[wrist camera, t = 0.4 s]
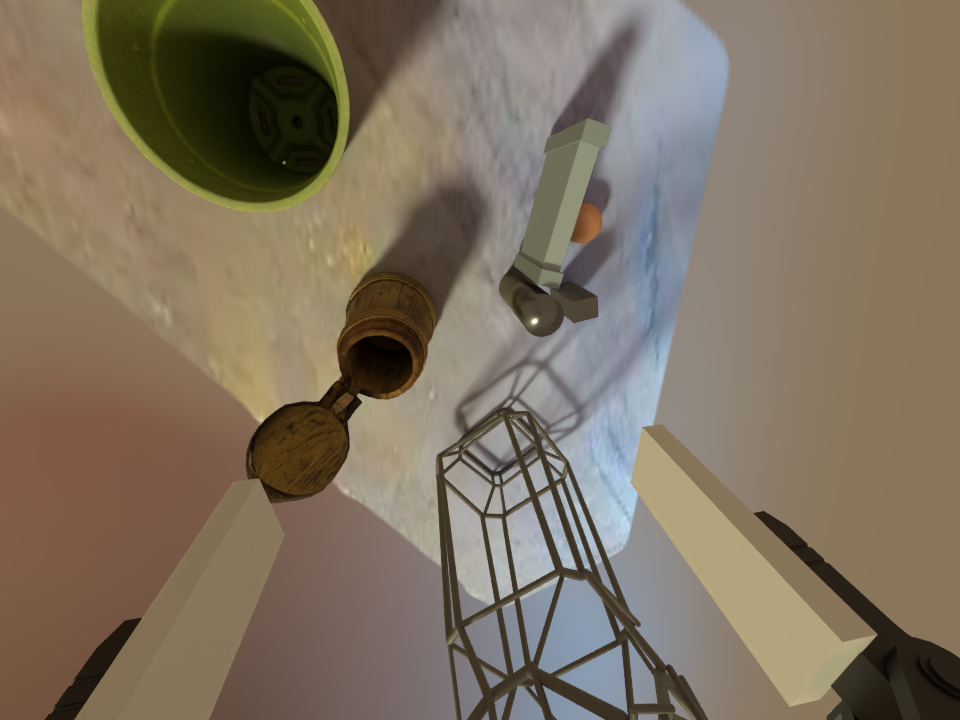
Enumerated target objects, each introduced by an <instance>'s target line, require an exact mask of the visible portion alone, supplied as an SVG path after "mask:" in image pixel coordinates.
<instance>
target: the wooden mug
mask: <svg viewBox="0 0 960 720" xmlns="http://www.w3.org/2000/svg"><path fill="white" fill-rule="evenodd" d="M436 322H437V312H436V309H435V305H434V302H433V300H432V299H431V297H430V295H429V293H428V292H427V291H426V290H425V289H424V288H423V286H422V285H421V284H420V283H418V282H416V281H415V280H413V279H412V278H410V277H408V276H405V275H402V274H399V273H389V272H384V273H379V274H373V275H372V276H370V277H368V278H367V279H365V280H363V282H362V283H361V284H360V285H359V286H358V287H357V288H356V289H355V290H354V292H353V293H352V295H351V296H350V299H349V302H348V305H347V308H346V311H345V327H344V328H343V329H342V332H341V334H340V337H339V339H338V342H337V354H338V362H339V367H340V371H341V373H342V376H341V377H340V379H339V380H338V381H336V382H335V383H334V384H333V385H332V386H331V387H330V389H329V390H328V391H327V392H326V394H325V395H324V396H323V397H322V399H321V400H320V401H318V402H306V401H302V402H297V403H292V404H286V405H284V406H283V407H281V408H280V409H278V410H276V411H275V412H274V413H272V414H271V415H270V416H269V417H268V418H266V419H265V420H264V421H263V423H262V424H261V425H260V426H259V427H258V429H257V430H256V432H255V433H254V435H253V436H252V438H251V441H250V443H249V446H248V449H247V453H246V471H247V477H248V480H250V479H258V478H259V480H260V482H261V484H262V486H263V489H264V491H265V493H266V495H267V497H268V500H269V502H270V503H281V502H288V501H295V500H300V499H303V498H308V497H311V496H313V495H315V494H317V493H319V492H321V491H323V490H324V488H325V487H326V486H327V485H328V484H329V483H330V482H331V481H332V480H333V479H334V478H335V476H336V474H337V473H338V471H339V470H340V468H341V467H342V465H343V463H344V462H345V460H346V458H347V455H348V451H349V448H350V443H349V431H348V423H347V421H348V420H349V419H350V417H351V416H352V414H353V413H354V411H355V410H356V409H357V408H358V407H359V406H360V404H361V403H362V401H361V400H360V399H359V398H358V397H357V394H358V393H360V394H362V395H365V396H368V397H372V398H376V399H387V400H388V399H391V398H395V397H398V396H399V395H401V394H403V393H404V392H406V391H407V390H408V389H409V388H411V387H412V386H413V384H414V383H415V382H416V381H417V379H418V378H419V376H420V375H421V373H422V372H423V370H424V366H425V363H426V358H427V352H428V344H429V342H430V340H431V339H432V336H433V332H434V329H435V327H436Z"/></svg>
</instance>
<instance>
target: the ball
mask: <svg viewBox="0 0 960 720" xmlns="http://www.w3.org/2000/svg"><path fill="white" fill-rule="evenodd" d="M601 225H602V216H601V213H600V211H599V210H598V209H597V208H596V207H595V206H594V205H592V204H589V203H582V205H581V208H580V211H579V214H578V217H577V220H576V223H575V226H574V230H573V233H572V236H571V239H570V240H571V241H573V242H576V243H585V242H588V241H590V240H592V239H593V238H595V237H596V235H597V234H598V233H599V231H600V229H601Z"/></svg>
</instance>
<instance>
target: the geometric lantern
mask: <svg viewBox="0 0 960 720" xmlns="http://www.w3.org/2000/svg"><path fill="white" fill-rule="evenodd" d="M500 413H502V414H500ZM496 416H497V417H496ZM511 416H512V417H511ZM523 416H527V419H528V422H529V425H530V428H531V431H532V432H531V431H530V430H529V429H528V428H527V427H526V426H525V425H524V424H523V423H522V422H521V421H520V420H519V419H518V418H520V417H523ZM494 417H496V418H494ZM493 418H494V419H493ZM514 419H515V420H516V421H517V422H518V423H519V424H520V425H521V426H522V427H523V428H524V429H525V430H526V431H527V432H528V433H530V434H531V435H532V436H533V437H534V440H535V442H534V441H533V440H532V439H531V438H530V437H529V436H528V435H527V434H526V433H525V432H524V431H523V430H522V429H521V428H520V427H519V426H518V425H517V424H516V423H515V422H513V421H512V420H514ZM490 420H491V421H490ZM503 421H504V422H505V425H506V427H507V430H508V433H509V436H510V439H511V441H512V444H513V447H514V450H515V453H516V456H517V459H518V460H517V461H516V462H514V463H513V464H512V465H510V466H509V467H508V468H506V469H505V470H504V471H502V472H501V473H496V474H491V473H490V472H489V471H488V470H486V469H485V468H484V467H483V466H482V465H480V464H479V463H478V462H477V461H475V460H474V459H473V458H472V457H471V456H469V455H468V454H467V453H466V452H464V451H465V450H466V449H468V448H469V447H470V446H471V445H473V444H474V443H475V442H477V441H478V440H479V439H481V438H482V437H483V436H484V435H486V434H487V433H488V432H490V431H491V430H492V429H494V428H495V427H496V426H498V425H499V424H500V423H501V422H503ZM511 424H512V425H513V426H514V427H515V428H516V429H517V430H518V431H519V432H521V433H522V434H523V435H524V436H525V437H526V438H527V439H528V440H529V441H530V442H531V443H532V444H533V445H534V446H535V448H533V449H532V450H530V451H529V452H528V453H526V454H525V455H524V456H522V453H521V450H520V447H519V445H518V442H517V439H516V437H515V434H514V431H513V428H512V426H511ZM489 427H490V428H489ZM487 428H489V429H487ZM536 428H537V430H538V431H539V432H540V434H541V435H542V436H543V437H544V439H545V440H546V441H547V442H548V444H549V445H550V446H551V447H552V449H553V450H554V451H555V452H556V454H557V455H558V456H559V457H558V456H556V455H553V454H551V453H549V452H546V451H544V450H543V447H542V444H541V441H540V438H539V435H538V432H537V430H536ZM486 429H487V430H486ZM484 430H486V431H485V432H483V431H484ZM481 432H483V433H482V434H481V435H479V436H478V437H477V438H476V439H474V440H473V441H472V442H470V443H469V444H468V445H466V446H465V447H464V448H463V449H462V446H461V445H462V444H464V443H465V442H467V441H469V440H470V439H472V438H473V437H475V436H476V435H478V434H480V433H481ZM458 447H459V451H455V452H451V451H453V450H454V449H456V448H458ZM535 450H537V453H538V457H537V458H535V459H534V460H533V461H531V462H530V463H529V464H527V465H526V464H525V461H524V458H526V457H527V456H528V455H530V454H531V453H533V452H534V451H535ZM456 454H459V455H458V458H457V459H456V460H455V461H454V462H453V463H452V464H450V465H449V466H448V467H447V468H446V469H445V470H444V469H443V461H442V457H447V456H451V455H456ZM462 454H463V455H465V456H466V457H467V458H468V459H470V460H471V461H472V462H473V463H475V464H476V465H477V466H478V467H480V468H481V469H482V470H483V471H484V472H486V473H487V474H488V475H489V476H491V479H492V482H491V481H490V480H489V479H488V478H486V477H485V476H484V475H483V474H481V473H480V472H479V471H477V470H476V469H475V468H474V467H472V466H471V465H470V464H469V463H467V462H466V461H465V460H464V459H462ZM545 454H546V455H548V456H550V457H553V458H555V459H557V460H560V461H562V462H563V463H564V464H565V466H564V470H563V473H562V474H561V473H560V472H559V471H558V470H557V469H556V468H555V467H554V466H553V465H552V464H551V463H550V462H549V461H548V460H547V458H546V455H545ZM540 458H541V461H542V464H543V467H544V471H545V474H546V477H547V480H548V483H549V485H548V486H547V487H545V488H543V489H542V490H540V491H538V492H537V493H536V491H535V489H534V486H533V483H532V480H531V478H530V475H529V472H528V469H527V468H528V467H530V466H531V465H532V464H534V463H535V462H536V461H538V460H539V459H540ZM459 460H460V461H461V462H462V463H464V464H465V465H466V466H468V467H469V468H470V469H471V470H473V471H474V472H475V473H476V474H478V475H479V476H480V477H482V478H483V479H484V480H485V481H487V482H488V483H489V484H491V485H492V489H491V492H490V495H489V498H488V501H487V504H486V507H485V510H484V513H482V512H481V511H480V510H479V509H478V508H477V507H476V506H475V505H474V504H473V503H471V502H470V501H469V500H468V499H467V498H466V497H465V496H464V495H463V494H462V493H461V492H460V491H458V490H457V489H456V488H455V487H454V486H453V485H452V484H451V483H450V482H449V481H448V480H447V479H445V477H444V474H445V473H446V472H447V471H448V470H450V469H451V468H452V467H453V466H454V465H455V464H456V463H457V462H458V461H459ZM518 463H519V465H520V468H521V470H519V471H518V472H517V473H515V474H514V475H513V476H512V477H510V478H509V479H508V480H506V481H505V482H504V483H503V479H502V475H503V474H504V473H506V472H507V471H508V470H510V469H511V468H512V467H514V466H515V465H516V464H518ZM549 466H550V467H551V468H552V469H553V470H554V471H555V472H556V473H557V474H558V475H559V476H560V477H561V478H560V479H558V480H556V481H554V478H553V476H552V473H551V470H550V467H549ZM567 472H568V474H569V476H570V479H571V482H572V484H573V487H574V489H575V492H576V495H577V497H578V500H579V502H580V505H581V507H582V510H583V512H584V515H585V518H586V520H587V523H588V525H589V528H590V530H591V533H592V535H593V538H594V541H595V543H596V546H597V548H598V551H599V553H600V556H601V558H602V561H603V563H604V566H605V569H606V571H607V574H608V576H609V579H610V581H611V584H612V587H613V589H614V591H615V594H616V597H617V598H616V597H615V596H614V595H613V594H612V593H611V592H610V591H609V590H608V589H607V588H606V587H605V586H604V585H603V583H602V580H601V578H600V575H599V572H598V570H597V567H596V564H595V561H594V558H593V556H592V553H591V550H590V548H589V545H588V542H587V539H586V537H585V534H584V531H583V528H582V526H581V523H580V520H579V518H578V515H577V512H576V509H575V507H574V504H573V501H572V498H571V496H570V493H569V490H568V488H567V485H566V482H565V478H566V475H567ZM520 473H522V474H523V477H524V479H525V482H526V485H527V488H528V491H529V494H530V497H529V498H527V499H525V500H524V501H522V502H521V503H519V504H517V505H516V506H514V507H512V508H511V509H509V510H507V511H506V508H505V502H504V495H503V489H502V487H503V486H505V485H506V484H507V483H509V482H510V481H511V480H513V479H514V478H515V477H517V476H518V475H519V474H520ZM495 476H499V479H500V483H501V484H495V481H494V477H495ZM436 479H437V495H438V512H439V530H440V547H441V564H442V580H443V598H444V616H445V632H446V643H447V644H448V652H449V660H450V668H451V676H452V683H453V691H454V700H455V708H456V717H457V720H462V719H461V712H460V705H459V696H458V689H457V681H456V673H455V665H454V658H453V650H454V651H455V652H457V653H459V654H461V655H462V656H464V657H466V658H467V659H469V661H470V664H471V666H472V669H473V671H474V674H475V676H476V679H477V681H478V683H479V686H480V689H481V691H482V694H483V698H482V699H481V700H480V702H479V703H478V705H477V706H476V708H475V709H474V710H473V712H472V713H471V715H470V716H469V718H468V719H467V720H482V718H483V717H484V715H485V714H486V712H487V711H488V713H489V720H497V716H496V710H495V703H494V702H495V701H497V700H498V699H500V698H501V697H503V696H504V695H505V694H507V693H508V692H509V695H508V698H507V702H506V705H505V709H504V713H503V716H502V720H509V716H510V713H511V709H512V705H513V701H514V697H515V693H516V689H517V686H523V687H524V688H525V689H526V690H527V692H528V693H529V694H530V695H531V696H532V697H533V698H534V700H535V701H536V702H537V703H538V705H539V706H540V707H541V708H542V711H543V714H544V718H545V720H557V719H556V718H555V717H554V716H553V715H552V713H551V710H550V707H549V704H548V701H547V698H546V695H545V692H544V689H543V686H545V687H547V688H549V689H551V690H552V691H554V692H556V693H558V694H559V695H561V696H563V697H565V698H567V699H569V700H570V701H572V702H574V703H576V704H578V705H580V706H581V707H583V708H585V709H587V710H589V711H591V712H592V713H594V714H596V715H598V716H600V717H602V718H603V719H605V720H638V714H658V717H659V718H658V720H686V719H684V718H682V717H680V716H678V715H676V714H675V707H674V706H673V705H672V704H671V702H670V699H669V694H668V690H669V691H670V692H671V694H672V695H673V696H674V697H675V699H676V700H677V701H678V702H679V704H680V705H681V706H682V707H683V708H684V709H685V711H686V712H687V713H688V714H689V716H690V717H691V718H692V719H693V720H708V718H707V716H706V715H705V713H704V711H703V709H702V708H701V706H700V704H699V702H698V701H697V699H696V697H695V695H694V693H693V692H692V690H691V688H690V686H689V684H688V683H687V681H686V679H685V678H684V676H682V675H680V676H679V677H678V675H677V673H676V672H675V670H674V669H673V667H672V666H671V665H669V664H668V665H667V666H665V664H664V663H663V661H662V660H661V659H660V658H659V657H658V655H657V654H656V653H655V652H654V651H653V649H652V648H651V647H650V645H649V644H648V643H647V642H646V641H645V639H643V637H642V636H641V635H640V633H639V632H638V631H637V630H636V628H635V625H636V626H637V627H640V626H641V624H640V622H639V621H638V620H637V619H636V618H635V617H634V616H633V615H632V614H631V612H630V611H629V609H628V606H627V604H626V601H625V599H624V597H623V594H622V591H621V589H620V586H619V584H618V582H617V579H616V577H615V575H614V572H613V569H612V567H611V564H610V562H609V560H608V557H607V555H606V552H605V550H604V547H603V545H602V542H601V540H600V538H599V535H598V533H597V530H596V528H595V525H594V523H593V520H592V518H591V516H590V513H589V511H588V508H587V506H586V503H585V501H584V498H583V496H582V494H581V491H580V489H579V486H578V484H577V481H576V479H575V476H574V474H573V471H572V469H571V466H570V463H569V461H568V460H567V459H566V458H565V457H564V455H563V454H562V453H561V452H560V450H559V449H558V448H557V446H556V445H555V444H554V443H553V441H552V440H551V439H550V437H549V436H548V435H547V434H546V432H545V431H544V430H543V428H542V427H541V426H540V425H539V423H538V422H537V421H536V419H535V418H534V417H533V416H532V414H531V413H530V412H528V411H514V412H511V411H510V410H509V409H505V410H500V411H497V412H496V413H495V414H493V415H492V416H491V417H489V418H488V419H487V420H486V421H484V422H483V423H482V424H481V425H479V426H478V427H477V428H475V429H474V430H473V431H472V432H470V433H469V434H468V435H466V436H465V437H464V438H463V439H461V440H460V441H458V442H456V443H455V444H453V445H452V446H450V447H449V448H447V449H446V450H444V451H442V452H441V453H439V454H438V455H437V458H436ZM559 484H562V487H563V490H564V492H565V495H566V498H567V501H568V504H569V507H570V510H571V512H572V515H573V518H574V521H575V524H576V527H577V530H578V532H579V535H580V538H581V541H582V544H583V547H584V550H585V553H586V555H587V558H588V561H589V564H590V567H591V570H592V572H591V571H588V570H587V569H585V568H584V565H583V562H582V559H581V556H580V554H579V551H578V548H577V545H576V542H575V539H574V536H573V533H572V530H571V527H570V525H569V522H568V519H567V516H566V513H565V510H564V507H563V504H562V501H561V499H560V496H559V493H558V490H557V487H556V486H557V485H559ZM445 485H446V486H447V487H448V488H449V489H451V490H452V491H453V492H454V493H455V494H456V495H457V496H458V497H459V498H460V499H462V500H463V501H464V502H465V503H466V504H467V505H468V506H469V507H470V508H471V509H473V510H474V511H475V512H476V513H477V514H478V515H479V516H480V518H481V524H482V530H483V536H484V542H485V548H486V554H487V560H488V565H489V571H490V577H491V583H492V588H493V594H494V600H495V603H494V604H492V605H490V606H489V607H487V608H485V609H483V610H481V611H480V612H478V613H476V614H474V615H472V616H470V617H469V618H467V619H465V620H463V621H462V616H461V608H460V600H459V591H458V583H457V574H456V566H455V558H454V550H453V542H452V534H451V526H450V518H449V510H448V502H447V494H446V486H445ZM495 487H500V494H501V501H502V507H503V514H486V513H487V510H488V507H489V504H490V501H491V498H492V495H493V492H494V489H495ZM549 490H551V492H552V495H553V498H554V501H555V504H556V507H557V511H558V514H559V517H560V520H561V523H562V526H563V529H564V532H565V535H566V538H567V541H568V544H569V547H570V550H571V553H572V555H573V558H574V561H575V564H576V567H577V570H578V571H577V570H572V569H568V568H564V567H563V566H562V563H561V560H560V557H559V554H558V552H557V549H556V546H555V543H554V541H553V538H552V535H551V532H550V530H549V527H548V524H547V521H546V519H545V516H544V513H543V510H542V508H541V505H540V502H539V499H538V497H539V496H541V495H543V494H544V493H546V492H547V491H549ZM531 501H532V503H533V506H534V509H535V512H536V514H537V517H538V520H539V523H540V526H541V529H542V532H543V535H544V538H545V541H546V544H547V547H548V550H549V553H550V556H551V559H552V562H553V565H554V567H555V570H554V571H552V572H550V573H548V574H547V575H545V576H543V577H541V578H539V579H537V580H536V581H534V582H532V583H530V584H528V585H527V586H525V587H523V588H521V589H519V590H518V587H517V581H516V575H515V569H514V564H513V558H512V552H511V547H510V541H509V535H508V529H507V523H506V516H508V515H510V514H511V513H513V512H515V511H516V510H518V509H520V508H521V507H523V506H524V505H526V504H528V503H529V502H531ZM485 518H497V519H502V524H503V531H504V538H505V544H506V550H507V556H508V563H509V569H510V575H511V581H512V587H513V593H512V594H510V595H509V596H507V597H505V598H503V599H501V600H500V597H499V592H498V586H497V581H496V576H495V570H494V565H493V560H492V554H491V549H490V544H489V539H488V533H487V528H486V523H485ZM446 545H447V548H446ZM447 554H448V561H447ZM448 564H449V573H450V582H451V592H452V602H453V611H454V621H455V627H454V628H453V627H452V614H451V600H450V589H449V588H450V587H449V576H448V575H449V574H448ZM557 576H560V577H559V580H558V583H557V586H556V590H555V593H554V596H553V599H552V603H551V606H550V609H549V612H548V615H547V619H546V622H545V625H544V628H543V632H542V635H541V638H540V641H539V644H538V648H537V651H536V654H535V657H534V661H531V660H530V655H529V649H528V643H527V638H526V632H525V627H524V621H523V615H522V610H521V604H520V598H519V597H521V596H522V595H524V594H526V593H528V592H530V591H532V590H533V589H535V588H537V587H539V586H541V585H543V584H544V583H546V582H548V581H550V580H552V579H554V578H555V577H557ZM564 577H566V578H571V579H575V580H581V581H582V580H585V579H586V580H587V581H588V582H589V584H590V585H591V586H592V587H593V589H594V590H595V591H596V592H597V594H598V595H599V596H600V597H601V598H602V601H603V604H604V607H605V610H606V612H607V615H608V618H609V621H610V624H611V627H612V629H613V632H614V635H615V638H616V640H615V641H613V642H611V643H609V644H607V645H605V646H603V647H601V648H599V649H597V650H595V651H594V652H592V653H590V654H588V655H586V656H584V657H582V658H580V659H578V660H576V661H574V662H572V663H570V664H568V665H566V666H565V667H563V668H561V669H559V670H557V671H555V672H553V673H551V674H549V673H547V672H545V671H543V670H541V669H539V668H538V664H539V661H540V658H541V654H542V651H543V647H544V644H545V641H546V638H547V634H548V631H549V627H550V624H551V621H552V617H553V614H554V611H555V607H556V604H557V601H558V597H559V594H560V591H561V587H562V584H563V581H564ZM513 600H515V605H516V612H517V618H518V625H519V630H520V637H521V643H522V649H523V655H524V662H525V666H523V667H522V668H520V669H519V670H518V671H516V672H515V673H513V668H512V662H511V657H510V651H509V645H508V640H507V634H506V629H505V623H504V618H503V613H502V606H504V605H506V604H508V603H510V602H512V601H513ZM495 610H496V611H497V617H498V623H499V629H500V634H501V639H502V646H503V652H504V657H505V663H506V668H507V674H508V675H506V674H504V673H502V672H501V671H499V670H498V669H496V668H494V667H492V666H491V665H489V664H488V663H486V662H484V661H483V660H481V659H479V658H478V657H477V656H476V654H475V652H474V650H473V647H472V645H471V642H470V640H469V638H468V635H467V633H466V631H465V628H464V627H466V626H468V625H469V624H471V623H473V622H475V621H477V620H478V619H480V618H482V617H484V616H486V615H488V614H489V613H491V612H493V611H495ZM614 615H615V616H616V617H617V619H618V620H619V621H620V622H621V624H622V625H623V626H624V627H625V628H624V629H623V630H622V631H621V632H620V630H619V627H618V625H617V622H616V619H615V616H614ZM458 636H460V639H461V641H462V644H463V646H464V649H463V648H461V647H459V646H458V645H456V644H455V643H454V641H455V640H456V638H457V637H458ZM628 639H629V640H630V641H631V643H632V645H633V646H634V647H635V649H636V650H637V652H638V653H639V655H640V656H641V658H642V659H643V661H644V662H645V664H646V665H647V667H648V668H649V670H650V671H651V673H652V674H653V675H654V679H655V687H656V694H657V702H658V704H634V699H633V688H632V678H631V667H630V658H629V647H628ZM635 641H636V642H637V643H636V642H635ZM621 644H622V655H623V666H624V677H625V688H626V699H627V711H628V715H627V714H626V713H625V712H624V711H623V710H621V709H619V708H617V707H615V706H613V705H611V704H609V703H607V702H605V701H603V700H601V699H599V698H597V697H595V696H593V695H591V694H589V693H587V692H585V691H583V690H581V689H579V688H577V687H575V686H573V685H571V684H569V683H567V682H565V681H563V680H561V679H559V678H557V677H559V676H560V675H563V674H564V673H567V672H569V671H571V670H572V669H574V668H576V667H578V666H580V665H582V664H584V663H586V662H588V661H590V660H592V659H594V658H596V657H598V656H600V655H601V654H604V653H606V652H607V651H609V650H611V649H613V648H615V647H617V646H619V645H621ZM637 644H638V645H639V646H640V647H641V649H642V650H643V651H644V652H645V654H646V655H647V656H648V657H649V659H650V660H651V661H652V662H653V664H654V665H655V666H656V668H653V666H652V665H651V663H650V662H649V661H648V659H647V658H646V656H645V655H644V653H643V652H642V650H641V649H640V647H639V646H638V645H637ZM481 667H483V668H484V669H486V670H488V671H489V672H491V673H493V674H495V675H496V676H498V677H500V678H501V679H503V681H502V682H500V683H499V684H497V685H496V686H494V687H493V688H492V689H491V688H490V686H489V684H488V682H487V679H486V677H485V675H484V672H483V670H482V668H481ZM666 670H667V672H668V673H669V674H667V673H666ZM533 685H534V686H535V689H536V692H537V695H538V697H537V696H536V695H535V693H534V692H533V691H532V690H531V689H530V688H529V687H531V686H533ZM542 685H543V686H542Z"/></svg>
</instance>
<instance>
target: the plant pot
mask: <svg viewBox="0 0 960 720" xmlns="http://www.w3.org/2000/svg"><path fill="white" fill-rule="evenodd" d="M82 25H83V33H84V40H85V46H86V50H87V54H88V57H89V62H90V66H91V69H92V71H93V74H94V77H95V79H96V81H97V84H98V86H99V88H100V91H101V93H102V95H103V97H104V99H105V101H106V103H107V105H108V107H109V109H110V111H111V112H112V114H113V115H114V117H115V118H116V120H117V121H118V123H119V124H120V125H121V127H122V128H123V129H124V131H125V133H126V134H127V135H128V136H129V138H130V139H131V140H132V142H133V143H134V144H135V145H136V146H137V148H138V149H139V150H140V151H141V152H142V153H143V154H144V155H145V156H146V157H147V158H148V159H149V160H150V161H151V162H152V163H153V164H154V165H155V166H156V167H157V168H159V169H160V170H161V171H162V172H163V173H164V174H166V175H167V176H168V177H169V178H171V179H172V180H173V181H175V182H176V183H178V184H179V185H181V186H182V187H184V188H185V189H187V190H189V191H190V192H192V193H194V194H196V195H198V196H200V197H202V198H204V199H206V200H208V201H211V202H213V203H216V204H218V205H221V206H224V207H228V208H231V209H235V210H241V211H248V212H272V211H279V210H284V209H287V208H290V207H293V206H296V205H298V204H300V203H302V202H304V201H306V200H307V199H309V198H310V197H312V196H313V195H315V194H316V193H317V192H318V191H319V190H320V189H322V188H323V187H324V185H325V184H326V183H327V182H328V181H329V179H330V178H331V177H332V175H333V174H334V172H335V170H336V169H337V167H338V165H339V163H340V161H341V158H342V156H343V153H344V150H345V147H346V142H347V138H348V132H349V122H350V99H349V90H348V84H347V79H346V74H345V70H344V66H343V63H342V59H341V56H340V53H339V51H338V48H337V45H336V43H335V40H334V38H333V36H332V33H331V31H330V29H329V27H328V25H327V23H326V21H325V19H324V17H323V16H322V14H321V12H320V10H319V9H318V7H317V6H316V4H315V3H314V1H313V0H83V1H82ZM281 77H295V78H299V80H300V83H299V85H294V84H282V85H279V84H280V83H279V82H278V79H279V78H281ZM312 83H313V84H312ZM311 84H312V85H311ZM328 110H333V111H334V114H335V117H336V123H337V129H338V130H337V132H333V131H332V125H331V119H330V116H329V114H328V112H327V111H328ZM260 113H263V114H264V115H265V120H266V123H267V127H268V130H269V132H270V134H269V135H267V137H266V135H265V132H264V129H263V128H262V124H261V121H260V116H259V115H260ZM294 117H299V118H300V119H301V120H302V122H303V125H302V127H301V128H296V127H295V126H294V125H293V119H294ZM288 155H290V156H289V158H288V160H287V162H286V164H283V163H282V162H283V161H284V160H285V158H286V157H287V156H288ZM313 158H316V159H317V163H316V165H312V166H305V165H301V164H299V162H298V161H299V159H313Z"/></svg>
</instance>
